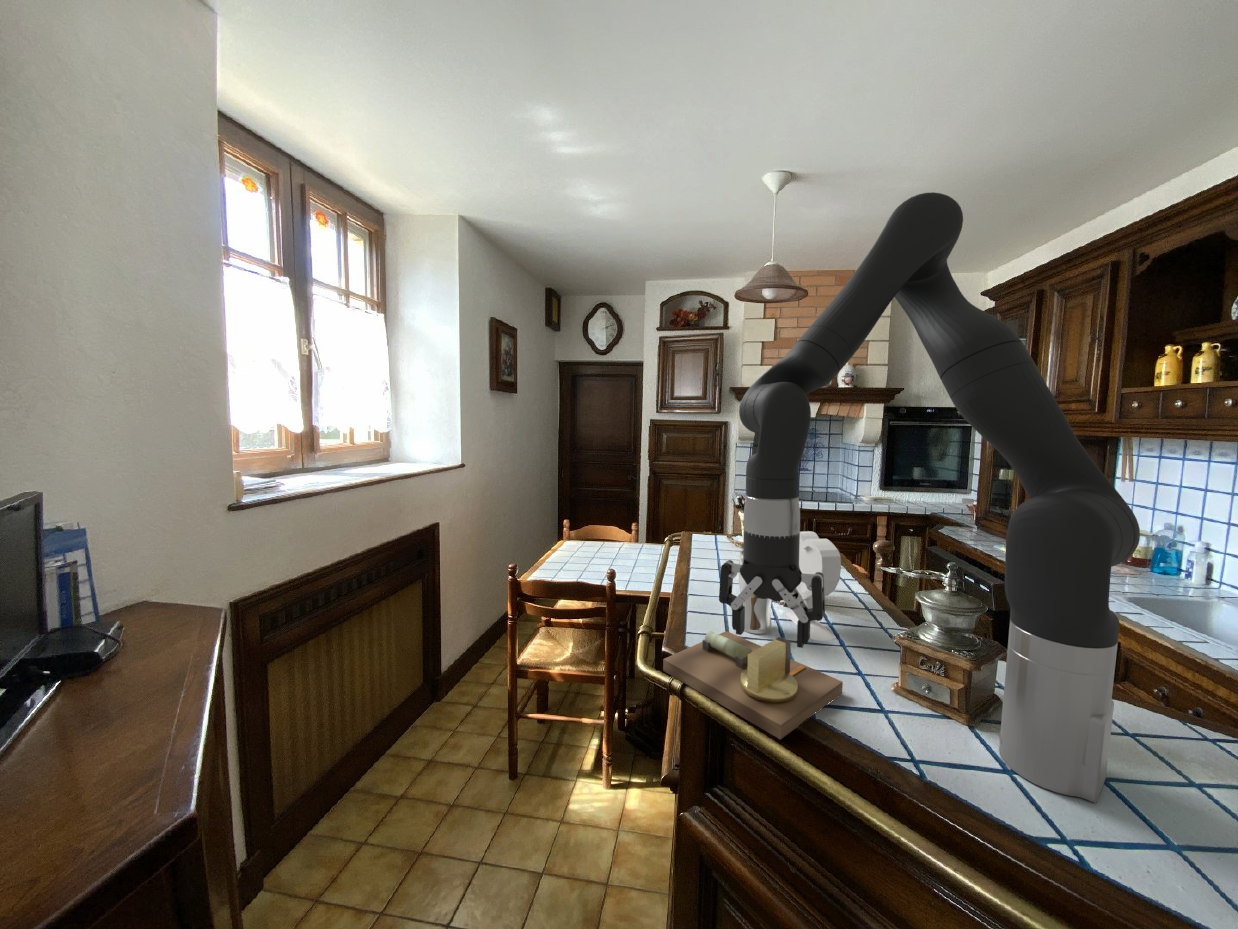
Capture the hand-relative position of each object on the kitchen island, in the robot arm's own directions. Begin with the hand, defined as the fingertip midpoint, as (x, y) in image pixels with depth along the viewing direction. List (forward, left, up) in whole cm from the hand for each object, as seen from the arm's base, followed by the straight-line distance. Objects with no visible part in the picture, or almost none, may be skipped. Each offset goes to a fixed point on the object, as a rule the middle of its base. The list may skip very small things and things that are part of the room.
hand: (769, 638), depth 71 cm
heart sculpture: (+11, -29, -10) cm, 32 cm away
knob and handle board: (+6, -3, -10) cm, 12 cm away
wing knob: (+1, -1, -8) cm, 8 cm away
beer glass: (+17, -20, -10) cm, 28 cm away
